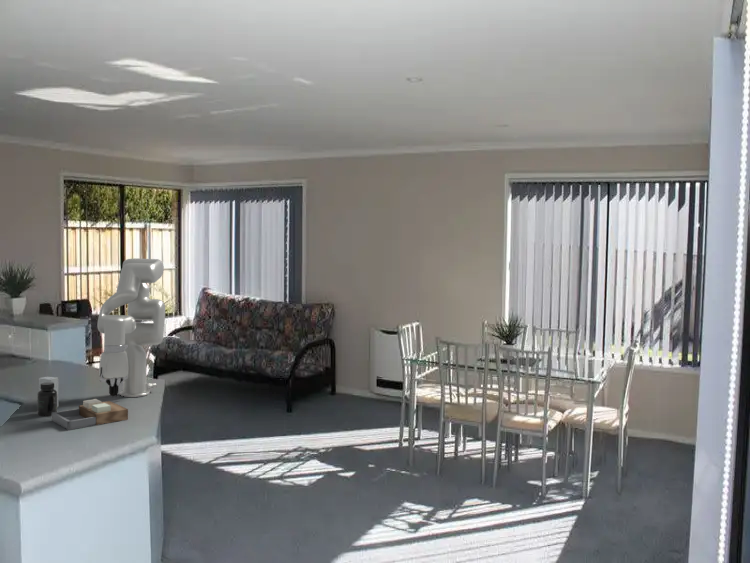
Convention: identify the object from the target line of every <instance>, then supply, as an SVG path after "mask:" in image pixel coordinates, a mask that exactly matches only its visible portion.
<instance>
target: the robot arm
mask: <svg viewBox="0 0 750 563" xmlns="http://www.w3.org/2000/svg"><path fill="white" fill-rule="evenodd" d="M164 269H165V267H164V263H163V261H162V260H161V259H159V258H134V257H133V258H127V259H125V260H124V261H123V262H122V268H121V271H120V275H119V279H118V282H117V283H118V284H117V288H116V292H115V293H113V294H112V295H111V296H110V297H108V298H107V299H106V300H105V301H104V303H103V304H102V305H101V307H100V309H99V315H98V318H97V330H98V331H99V333H101V334H103V335H104V336H103V337H104V339H103V340H104V341H103V342H104V343H103V352H101V355H100V359H99V366H98V377H100V378H99V381H100V382H101V383H106V384H107V386H109V387H108V389H109V390H108V393H109V396H111V397H118V394H119V396H120V395H121V396H120V397H123V396H124V397H123V398H125V397H126V398H138V397H141V398H142V397H145V396H148V395H150V394H151V393H150V391H151V390H150V389H154V388H157V383H155V382H154V383H151V382H149V383H148V382H147V352H146V351H145V349H144V347H143V346H148V345H149V346H157V345H161V344H162V342H163V340H164V337H165V336H164V334H165V322H166V321H165V320H166V305H165V302H164V301H163V300H161V299H156V298H150V287H149V285H148V284H154V283H156V282H157V281H158V280H159V279H161V278H162V277H163V274H164V271H165V270H164ZM124 305H127V313H126V314H127V315H126V314H125V315H123V314H121V315H119V314H111V312H112V311H114V310H115V309H117V308H119V307H122V306H124ZM136 321H152V323H150V322H136ZM120 384H123V385H122V390H120V391H119V386H120Z"/></svg>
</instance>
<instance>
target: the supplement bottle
mask: <svg viewBox="0 0 750 563" xmlns="http://www.w3.org/2000/svg"><path fill="white" fill-rule="evenodd" d="M54 388H55V386H54V383H53V382H46V383H41V384H40V389H41V390H40V391H39V390H38V392H37V400H36V402H37V403H36V404H37V407H36V408H37V409H36V410H37V411H36V412H37V416H39V417H52V412H58V407H57V391H56V390H55V389H54Z"/></svg>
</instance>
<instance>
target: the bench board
mask: <svg viewBox="0 0 750 563" xmlns="http://www.w3.org/2000/svg"><path fill="white" fill-rule="evenodd" d="M102 403H106V404H108V405H110V406H111V411H107V412H101V413H96V412H94V411H92V408H90V409H88V408H86V407H84V406H83V404H82V405H81V404H80V405H79V406H78V408H79V415H80V416H82V417H84V418H89V417H96V425H95V426H99V425H98V424H100V425H105V424H109V423H117V422H121V421H122V422H123V421H127V420H129V408H126V407H124V406H122V405H120V404H118V403H115V402H112V401H111V400H107V401H102ZM104 423H105V424H104Z"/></svg>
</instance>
